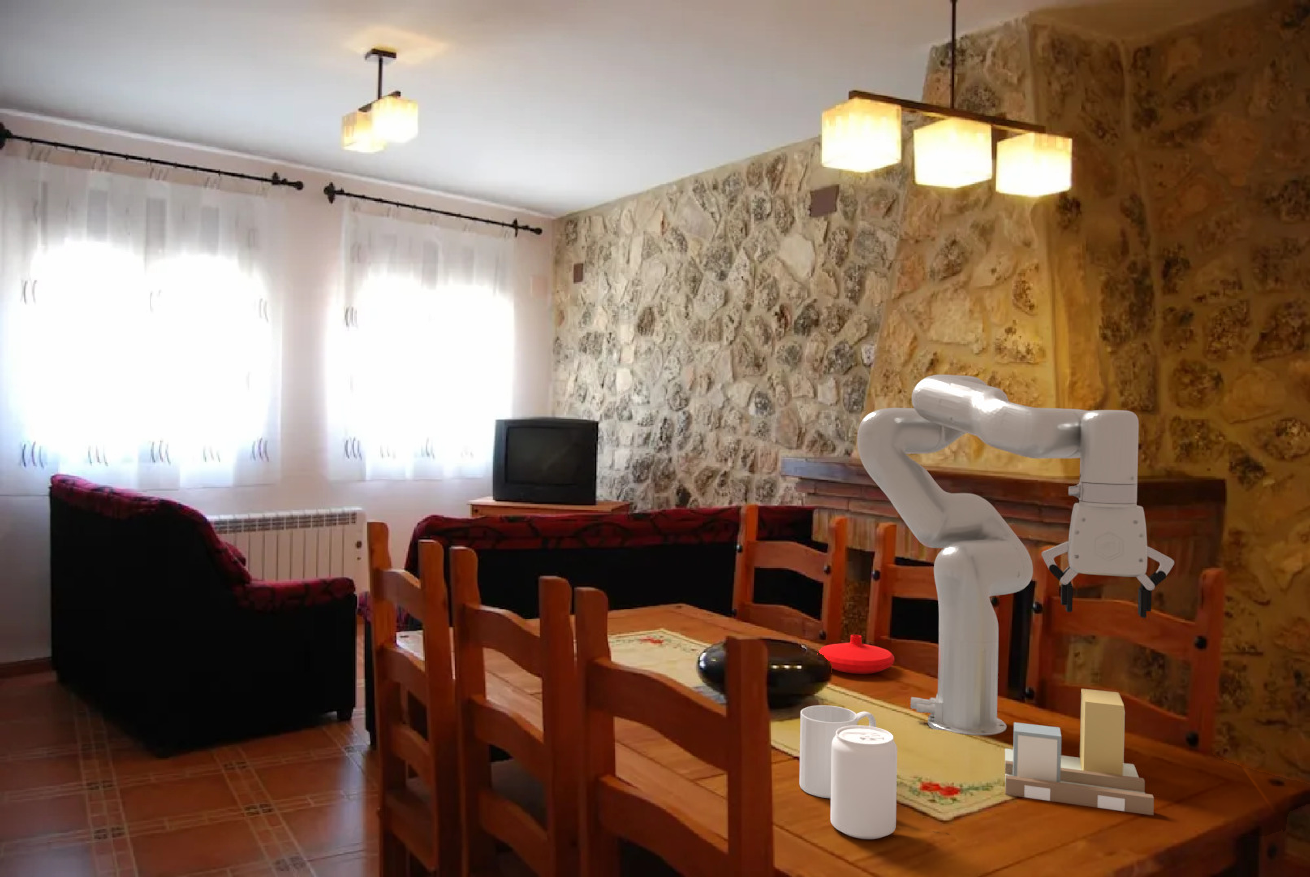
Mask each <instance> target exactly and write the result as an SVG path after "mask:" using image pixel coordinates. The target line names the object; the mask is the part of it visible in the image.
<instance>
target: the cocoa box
mask: <svg viewBox="0 0 1310 877" xmlns="http://www.w3.org/2000/svg"><path fill="white" fill-rule="evenodd" d="M1061 733H1062V732H1061V727H1058V726H1049V725H1041V724H1040V725H1039V724H1033V723H1022V722H1015V721H1014V722H1013V746H1012V747H1013V748H1012V749H1013V776H1017V777H1024V778H1032V779H1039V780H1046V781H1054V782H1060V778H1061V755H1062V734H1061Z"/></svg>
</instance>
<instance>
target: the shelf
mask: <svg viewBox="0 0 1310 877" xmlns="http://www.w3.org/2000/svg"><path fill="white" fill-rule="evenodd" d="M1004 778H1005V779H1004V782H1005V787H1004V788H1005V792H1004V794H1005V795H1007V796H1013V797H1021V798H1027V799H1034V800H1042V801H1048V802H1057V803H1064V804H1070V805H1077V806H1085V807H1093V808H1099V809H1106V810H1112V811H1121V812H1127V813H1134V814H1142V815H1147V816H1154V812H1155V810H1154V808H1155V802H1154V801H1155V797H1154V795H1153V794H1150V793H1146V792H1145V790H1146V789H1145V787H1146V781H1145V779H1144V778H1143V777H1139V775H1138V772H1137V769H1136V767H1135V764H1133V763H1125V762H1124V766H1123V776H1122V775H1114V774H1106V773H1099V772H1091V771H1083V770H1082V769H1081V765H1080V757H1078V756H1077V757H1075V756H1070V755H1063V754H1061V778H1060V782H1054V781H1046V780H1039V779H1032V778H1024V777H1017V776H1013V748H1012V749H1011V748H1004Z"/></svg>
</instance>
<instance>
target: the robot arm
mask: <svg viewBox="0 0 1310 877" xmlns="http://www.w3.org/2000/svg"><path fill="white" fill-rule="evenodd" d="M911 404H912V406H913V407H911V408H910V407H909V408H908V407H887V408H880V409H877V410H876V409H875V410H874V411H872V412H870V413H868V414H866V415H865V416H864V417H863V418H862V420H861V422H860V423H859V426H858V429H857V437H856V441H857V442H856V444H857V451H858V455H859V458H860V462H861V463H862V466H863V467H864V469H865V471H866V472H867V474H868V475H869V477H870V478H871V479H872V480H873V482H875V484H876V485H877V486H878V487H879V488H880V489H881V491H882V492H883V493H884V494H885V495H886V497H887V498H888V500H889V501H890V502H891V504H892V506H893V508H895V510H896V512H897V513H898V514H899V516H900V517H901V519H902V520H903V521H904V523H905V524H906V526H907V527H908V529H909V530H910V532H911V533H912V534H913V535H914V536H915V538H916V540H917V541H918V542H919V543H921V544H922V545H923V546H924V547H927V548H931V549H941V550H940V551H939V552H938V553H937V556H936V557H935V560H934V563H933V565H934V566H933V575H934V576H933V578H934V583H935V587H936V594H937V601H938V661H937V662H938V663H937V664H938V669H937V670H938V671H937V672H938V673H937V693H936V694H935V695H936V696H935V697H930V698H929V699H928V698H927V699H926V698H922V697H915V696H914V697H913V696H911V697H910V709H914V710H916V713H922V714H923V713H927V714H929V715H928V716H927V724H928V726H929V728H930V729H933V730H937V731H947V732H951V733H955V734H959V735H969V736H993V735H997V734H1001V733H1003V732H1005V731H1006V730H1007V728H1008V727H1007V723H1005V722H1004V721H1003V720H1002V719H1000V718H998V684H999V683H998V681H999V680H998V679H999V676H998V674H999V622H998V617H997V614H996V611H995V610H994V606H993V604H992V602H991V600H990V599H991V598H990V597H993V596H1001V595H1002V596H1003V595H1004V596H1005V595H1008V594H1009V595H1010V594H1014V593H1017V592H1021V591H1023V590H1024V589H1025V588H1026V587H1027V586H1029V584H1030V582H1031V580H1032V578H1033V576H1034V566H1033V561H1032V558H1031V555H1030V553H1029V551H1028V549H1027V548H1026V546H1025V544H1024V543H1023V542H1022V541H1021V540H1020V538H1019V537H1018V536H1017V534H1016V533H1015V532H1014V531H1013V529H1012V528H1011V527H1010V525H1009V524H1008V523H1007V522H1006V520H1005V519H1004V518H1003V517H1002V515H1001V513H999V512H998V510H997V509H996V508H995V507H994V506H993V504H991V502H989V501H988V500H987V499H985V498H984V497H982V496H980V495H977V494H974V493H970V492H969V493H968V492H967V493H966V492H959V493H958V492H957V493H956V492H955V493H953V492H947V491H945V490H944V489H942V488H941V487H940V486H939V485H938V483H937V482H936V481H935V480H934V478H933V477H932V475H931V474H930V473H929V472H928V470H926V468H925V467H924V466H923V465H921V464H920V463H918V462H916V460H913V458H911V457H909V455H912V454H913V455H915V454H919V455H921V454H922V455H923V454H924V455H927V454H933V453H934V454H935V453H936V452H939V451H942V450H944V449H945V448H947V447H948V446H950V445H951V444H952V443H954V442H955V441H957V440H958V439H960V438H961V437H963V436H964V435H965V434H969V435H972V436H975V437H977V438H978V439H979V440H980V441H981V442H983V443H984V444H986V445H988V446H990V447H992V448H994V449H998V450H1001V451H1004V452H1008V453H1011V454H1013V455H1017V456H1021V457H1025V458H1029V459H1079V460H1080V461H1079V463H1080V464H1079V482H1078V484H1076V485H1074V486H1068V496H1074V497H1076V498H1078V502H1075V503H1074V504H1073V506H1072V507H1073V508H1072V511H1071V512H1072V513H1071V517H1070V524H1069V532H1068V540H1067V541H1065V542H1063V543H1060V544H1057V545H1056V546H1053V547H1050V548H1048V549H1046V550H1043V551H1042V552H1041V557H1042V559H1043V561H1044V563H1045V565H1046V566H1047V568H1048V570H1049V573H1051V574H1052V575H1053V577H1055V578H1056V579H1057V580H1058V581H1059V582H1060V583H1061V584H1060V585H1061V586H1060V605H1061V606H1065V610H1066V613H1072V612H1073V598H1074V595H1073V594H1074V586H1073V584H1072V580H1073V579H1074V578H1075V577H1077V575H1079V574H1084V575H1096V576H1112V577H1113V576H1114V577H1129V578H1130V577H1131V578H1132V577H1133V578H1134V577H1135V578H1137V580H1138V582H1140V586H1139V587H1138V588H1137V589H1138V591H1137V592H1138V594H1137V615H1138V616H1139V617H1141V618H1142V619H1146V618H1147V612H1151V613H1152V597H1153V596H1152V593H1153V592H1152V591H1153V590H1155V587H1157V586H1158V585H1159V584H1160V583H1162V582H1163V581H1164V580H1165V579H1166V578H1167V575H1168V574H1169V573H1170V571H1171V570H1172V568H1173V566H1174V565H1175V560H1174V559H1172V558H1171V557H1169V556H1167V555H1165V554H1163V553H1161V552H1159V551H1158V550H1155V549H1154V548H1152V547H1150V546H1148V539H1147V538H1148V537H1147V524H1146V517H1145V511H1144V507H1143V506H1141V505H1137V502H1138V468H1139V467H1138V466H1139V465H1138V464H1139V463H1138V460H1139V458H1138V457H1139V431H1140V430H1139V428H1140V427H1139V424H1140V423H1139V417H1138V416H1137V415H1136V413H1135V412H1133V411H1130V410H1122V409H1121V410H1119V409H1098V410H1097V409H1096V410H1095V409H1094V410H1093V409H1092V410H1086V409H1080V408H1079V409H1077V408H1060V407H1059V408H1056V407H1055V408H1054V407H1052V408H1051V407H1032V406H1027V405H1024V404H1018V403H1015V402H1011V401H1009V398H1008V396H1007V393H1005V392H1004V390H1003V389H1000V388H999V387H995V386H991V385H987V383H986V382H985V381H983V380H982V379H980V378H978V377H977V376H973V375H960V374H959V375H958V374H957V375H954V374H932V375H929V376H926V377H924V378H923V379H921V380H920V381H919V382H917V383H916V385H915V386H914V388H913V390H912V393H911ZM907 454H909V455H907ZM1066 553H1067V562H1068V566H1067V567H1066V568H1065V569H1064V571H1063V570H1062V569H1061V567H1059V566H1058V565H1057V563H1056V562H1055V558H1056V557H1058V556H1060V555H1063V554H1066ZM1148 558H1150V559H1152V560H1154V561H1156V562H1157V563H1159V566H1158V569H1157V570H1156V571H1155V572H1153V573H1151V575H1150V576H1148V575H1147V574H1146V573H1147V569H1148Z"/></svg>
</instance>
